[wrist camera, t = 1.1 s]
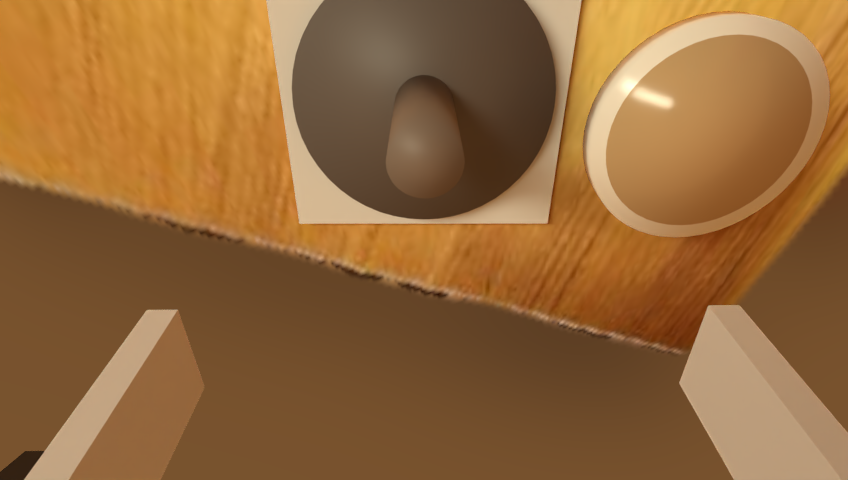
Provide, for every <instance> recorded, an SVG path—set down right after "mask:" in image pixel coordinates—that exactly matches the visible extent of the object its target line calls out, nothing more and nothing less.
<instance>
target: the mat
mask: <svg viewBox="0 0 848 480" xmlns="http://www.w3.org/2000/svg"><path fill="white" fill-rule="evenodd" d="M266 1H267V8H268V15H269V21H270V28H271V35H272V42H273V48H274V55H275V62H276V69H277V75H278V82H279V89H280V96H281V102H282V109H283V116H284V123H285V129H286V136H287V143H288V150H289V156H290V163H291V170H292V177H293V183H294V190H295V197H296V204H297V210H298V217H299V224H478V223H548V217H549V210H550V204H551V197H552V190H553V184H554V177H555V171H556V164H557V158H558V151H559V145H560V138H561V132H562V125H563V118H564V112H565V105H566V99H567V92H568V86H569V79H570V73H571V66H572V60H573V53H574V47H575V40H576V33H577V27H578V20H579V14H580V7H581V1H582V0H524V1H525V2H526V3H527V4H528V6H529V7H530V9H531V10H532V12H533V13H534V15H535V16H536V17H537V19H538V21H539V23H540V25H541V27H542V29H543V31H544V33H545V35H546V37H547V40H548V43H549V46H550V49H551V52H552V57H553V62H554V67H555V77H556V96H555V107H554V112H553V116H552V121H551V124H550V127H549V130H548V133H547V136H546V139H545V141H544V143H543V145H542V147H541V149H540V151H539V153H538V154H537V156H536V157H535V159H534V160H533V162H532V164H531V165H530V166H529V168H528V169H527V170H526V171H525V172H524V174H523V175H522V176H521V177H520V178H519V179H518V180H517V181H516V182H515V183H514V184H513V185H512V186H511V187H510V188H509V189H507V190H506V191H505V192H503V193H502V194H501V195H499V196H498V197H497V198H495V199H493V200H492V201H490V202H488V203H486V204H484V205H483V206H481V207H478V208H476V209H473V210H471V211H469V212H466V213H462V214H459V215H455V216H451V217H445V218H439V219H408V218H402V217H396V216H392V215H389V214H385V213H382V212H379V211H376V210H374V209H372V208H369V207H367V206H365V205H363V204H361V203H359V202H358V201H356V200H354V199H352V198H351V197H350V196H348V195H347V194H345V193H344V192H343V191H341V190H340V189H339V188H338V187H337V186H336V185H335V184H334V183H332V182H331V181H330V180H329V179H328V178H327V177H326V175H325V174H324V173H323V172H322V171H321V169H320V168H319V167H318V166H317V164H316V163H315V161H314V160H313V158H312V157H311V155H310V153H309V152H308V150H307V148H306V146H305V144H304V141H303V139H302V137H301V134H300V131H299V128H298V125H297V123H296V118H295V113H294V108H293V100H292V74H293V66H294V61H295V56H296V52H297V49H298V46H299V43H300V40H301V37H302V35H303V33H304V31H305V29H306V27H307V25H308V23H309V21H310V19H311V17H312V16H313V14H314V13H315V12H316V10H317V9H318V7H319V6H320V5H321V3H322V2H323V1H324V0H266Z"/></svg>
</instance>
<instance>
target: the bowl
mask: <svg viewBox="0 0 848 480" xmlns="http://www.w3.org/2000/svg"><path fill="white" fill-rule="evenodd" d="M829 101H830V88H829V79H828V75H827V70H826V67H825V65H824V62H823V60H822V58H821V55H820V54H819V52H818V51H817V49H816V48H815V46H814V45H813V44H812V43H811V42H810V41H809V40H808V39H807V38H806V37H805V36H804V35H803V34H802V33H801V32H799V31H797V30H796V29H794V28H793V27H791V26H790V25H787V24H785V23H783V22H780V21H778V20H775V19H770V18H766V17H762V16H758V15H754V14H750V13H745V12H734V11H724V12H712V13H707V14H702V15H697V16H693V17H690V18H688V19H685V20H682V21H679V22H677V23H675V24H672V25H670V26H668V27H666V28H664V29H662V30H660V31H659V32H657V33H656V34H654V35H652V36H651V37H649V38H647V39H646V40H645V41H644V42H642V43H641V44H640V45H638V46H637V47H636V48H635V49H633V50H632V51H631V52H630V53H629V54H628V55H627V56H626V57H625V58H624V59H623V60H622V61H621V62H620V63H619V64H618V65H617V67H616V68H615V69H614V70H613V71H612V73H611V74H610V75H609V76H608V78H607V79H606V81H605V82H604V84H603V85H602V87H601V88H600V90H599V92H598V94H597V96H596V98H595V100H594V102H593V104H592V107H591V109H590V112H589V115H588V118H587V122H586V126H585V130H584V138H583V159H584V164H585V170H586V173H587V175H588V178H589V181H590V183H591V185H592V187H593V189H594V190H595V192H596V193H597V195H598V196H599V198H600V199H601V201H602V202H603V204H604V205H605V206H606V208H607V209H608V210H609V211H610V212H611V213H612V214H613V215H614V216H615V217H616V218H617V219H618V220H620V221H621V222H623V223H624V224H626V225H627V226H629V227H632V228H634V229H636V230H638V231H641V232H644V233H647V234H651V235H656V236H662V237H689V236H695V235H702V234H706V233H710V232H713V231H717V230H720V229H722V228H725V227H728V226H731V225H733V224H735V223H737V222H739V221H741V220H743V219H745V218H747V217H748V216H750V215H752V214H754V213H755V212H757V211H758V210H760V209H761V208H763V207H764V206H765V205H767V204H768V203H770V202H771V201H772V200H773V199H774V198H776V197H777V196H778V195H779V194H780V193H781V192H783V191H784V189H785V188H786V187H787V186H788V185H789V184H790V183H791V182H792V181H793V180H794V179H795V178H796V177H797V175H798V174H799V173H800V172H801V170H802V169H803V168H804V166H805V165H806V163H807V162H808V160H809V159H810V157H811V156H812V154H813V152H814V150H815V148H816V146H817V144H818V142H819V140H820V138H821V135H822V132H823V130H824V127H825V124H826V119H827V115H828V111H829Z"/></svg>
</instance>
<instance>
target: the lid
mask: <svg viewBox="0 0 848 480" xmlns="http://www.w3.org/2000/svg"><path fill="white" fill-rule="evenodd" d="M555 96H556V77H555V67H554V62H553V57H552V52H551V49H550V46H549V43H548V40H547V37H546V35H545V33H544V31H543V29H542V27H541V25H540V23H539V21H538V19H537V17H536V16H535V15H534V13H533V12H532V10H531V9H530V7H529V6H528V4H527V3H526V2H525V1H524V0H324V1H323V2H322V3H321V5H320V6H319V7H318V9H317V10H316V12H315V13H314V14H313V16H312V17H311V19H310V21H309V23H308V25H307V27H306V29H305V31H304V33H303V35H302V37H301V40H300V43H299V46H298V49H297V52H296V56H295V61H294V66H293V74H292V100H293V108H294V113H295V118H296V123H297V125H298V128H299V131H300V134H301V137H302V139H303V141H304V144H305V146H306V148H307V150H308V152H309V153H310V155H311V157H312V158H313V160H314V161H315V163H316V164H317V166H318V167H319V168H320V169H321V171H322V172H323V173H324V174H325V175H326V177H327V178H328V179H329V180H330V181H331V182H332V183H334V184H335V185H336V186H337V187H338V188H339V189H340V190H341V191H343V192H344V193H345V194H347V195H348V196H350V197H351V198H352V199H354V200H356V201H358V202H359V203H361V204H363V205H365V206H367V207H369V208H372V209H374V210H376V211H379V212H382V213H385V214H389V215H392V216H396V217H402V218H408V219H439V218H445V217H451V216H455V215H459V214H462V213H466V212H469V211H471V210H473V209H476V208H478V207H481V206H483V205H484V204H486V203H488V202H490V201H492V200H493V199H495V198H497V197H498V196H499V195H501V194H502V193H503V192H505V191H506V190H507V189H509V188H510V187H511V186H512V185H513V184H514V183H515V182H516V181H517V180H518V179H519V178H520V177H521V176H522V175H523V174H524V172H525V171H526V170H527V169H528V168H529V166H530V165H531V164H532V162H533V160H534V159H535V157H536V156H537V154H538V153H539V151H540V149H541V147H542V145H543V143H544V141H545V139H546V136H547V133H548V130H549V127H550V124H551V121H552V116H553V112H554V107H555Z"/></svg>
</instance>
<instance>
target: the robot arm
mask: <svg viewBox="0 0 848 480" xmlns="http://www.w3.org/2000/svg"><path fill="white" fill-rule="evenodd" d="M679 384H680V386H681V387H682V389H683V391H684V393H685V394H686V396H687V398H688V399H689V401H690V403H691V405H692V407H693V408H694V410H695V412H696V414H697V415H698V417H699V419H700V421H701V422H702V424H703V426H704V428H705V430H706V431H707V433H708V435H709V437H710V438H711V440H712V442H713V444H714V445H715V447H716V449H717V451H718V452H719V454H720V456H721V457H722V459H723V461H724V463H725V465H726V466H727V468H728V470H729V472H730V473H731V475H732V477H733V479H734V480H848V432H847V431H846V430H845V429H844V428H843V427H842V425H841V424H840V423H839V422H838V421H837V420H836V418H835V417H834V416H833V415H832V414H831V412H830V411H829V410H828V409H827V408H826V407H825V406H824V404H823V403H822V402H821V401H820V399H819V398H818V397H817V396H816V395H815V394H814V393H813V391H812V390H811V389H810V388H809V387H808V386H807V384H806V383H805V382H804V381H803V379H802V378H801V377H800V376H799V375H798V374H797V372H796V371H795V370H794V369H793V368H792V366H791V365H790V364H789V363H788V362H787V361H786V359H785V358H784V357H783V356H782V355H781V354H780V352H779V351H778V350H777V349H776V348H775V346H774V345H773V344H772V343H771V342H770V341H769V339H768V338H767V337H766V336H765V335H764V333H763V332H762V331H761V330H760V329H759V328H758V327H757V325H756V324H755V323H754V322H753V321H752V319H751V318H750V317H749V316H748V315H747V314H746V312H745V311H744V310H743V309H742V308H741V306H740V305H708V308H707V310H706V313H705V316H704V318H703V321H702V324H701V326H700V329H699V332H698V334H697V337H696V340H695V342H694V345H693V348H692V350H691V353H690V355H689V358H688V361H687V364H686V366H685V369H684V372H683V374H682V377H681V380H680V382H679ZM203 389H204V384H203V381H202V378H201V375H200V373H199V370H198V367H197V364H196V361H195V358H194V355H193V352H192V349H191V346H190V344H189V341H188V338H187V335H186V332H185V329H184V327H183V324H182V320H181V318H180V315H179V312H178V310H147V311H146V312H145V314H144V315H143V316H142V318H141V319H140V320H139V322H138V323H137V325H136V326H135V327H134V329H133V330H132V331H131V333H130V334H129V335H128V337H127V338H126V340H125V341H124V342H123V344H122V345H121V347H120V348H119V349H118V351H117V352H116V353H115V355H114V356H113V358H112V359H111V360H110V362H109V363H108V364H107V366H106V367H105V369H104V370H103V371H102V373H101V374H100V376H99V377H98V378H97V380H96V381H95V383H94V384H93V385H92V387H91V388H90V389H89V391H88V392H87V394H86V395H85V396H84V398H83V399H82V400H81V402H80V403H79V405H78V406H77V407H76V409H75V410H74V411H73V413H72V414H71V416H70V417H69V418H68V420H67V421H66V422H65V424H64V425H63V427H62V428H61V430H60V431H59V432H58V434H57V435H56V436H55V438H54V439H53V440H52V442H51V443H50V445H49V446H48V447H47V449H46V450H45V451H25V452H24V453H23V454H21V455H20V456H19V457H18V458H17V459H15V460H14V461H13V462H12V463H10V464H9V465H8V466H7V467H6V468H4V469H3V470H2V471H1V472H0V480H160V479H161V477H162V476H163V473H164V471H165V469H166V467H167V465H168V463H169V461H170V459H171V457H172V455H173V452H174V450H175V448H176V446H177V444H178V442H179V440H180V438H181V436H182V433H183V431H184V429H185V427H186V425H187V423H188V421H189V419H190V417H191V415H192V412H193V410H194V408H195V406H196V404H197V402H198V400H199V398H200V396H201V394H202V391H203Z"/></svg>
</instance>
